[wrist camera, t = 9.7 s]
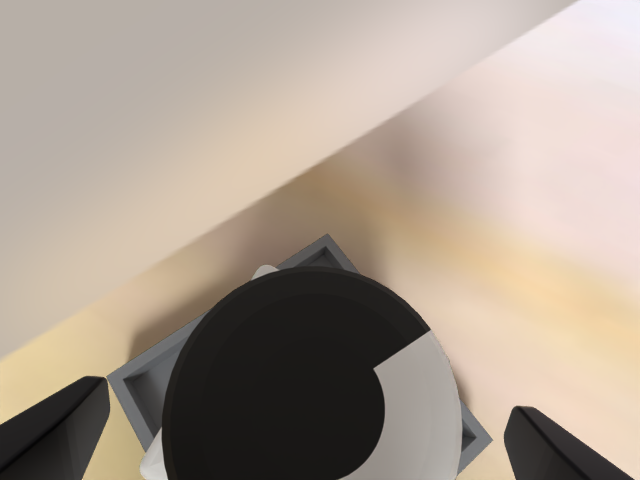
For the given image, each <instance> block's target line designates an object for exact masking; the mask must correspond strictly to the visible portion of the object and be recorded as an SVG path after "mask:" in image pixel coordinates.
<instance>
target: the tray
mask: <svg viewBox="0 0 640 480" xmlns="http://www.w3.org/2000/svg"><path fill="white" fill-rule="evenodd" d="M301 266H324V267H332V268H339V269H343V270H347V271H351V272H354V273H358V274H360V273H359V272H358V271H357V269H356V268H355V267H354V266H353V264H352V263H351V262H350V261H349V259H348V258H347V257H346V256H345V254H344V253H343V252H342V251H341V249H340V248H339V247H338V246H337V244H336V243H335V242H334V241H333V239H332V238H331V237H330V236H329V234H326V235H325V236H323V237H322V238H320V239H318V240H317V241H315V242H314V243H312V244H311V245H309V246H308V247H306V248H304V249H303V250H301V251H300V252H298V253H297V254H295V255H294V256H292V257H291V258H289V259H287V260H286V261H284V262H283V263H281V264H280V265H278V266H277V267H275V268H277V269H279V270H282V269H286V268H294V267H301ZM360 275H361V274H360ZM211 309H212V308H211ZM211 309H210V310H211ZM210 310H208V311H207V312H205V313H204V314H202V315H201V316H199V317H198V318H196V319H194V320H193V321H191V322H190V323H188V324H187V325H185V326H184V327H182V328H180V329H179V330H177V331H176V332H174V333H173V334H171V335H170V336H168V337H167V338H165V339H163V340H162V341H160V342H159V343H157V344H156V345H154V346H153V347H151V348H149V349H148V350H146V351H145V352H143V353H142V354H140V355H139V356H137V357H136V358H134V359H132V360H131V361H129V362H128V363H126V364H125V365H123V366H122V367H120V368H118V369H117V370H115V371H114V372H112V373H111V374H109V375H108V376H106V377H107V379H108V381H109V383H110V385H111V387H112V389H113V391H114V393H115V395H116V396H117V398H118V400H119V402H120V404H121V406H122V408H123V410H124V412H125V414H126V416H127V418H128V420H129V422H130V424H131V425H132V427H133V429H134V431H135V433H136V435H137V437H138V439H139V441H140V443H141V445H142V447H143V449H144V451H145V452H147V450H148V449H149V447H150V445H151V444H152V442H153V440H154V439H155V437H156V435H157V434H158V432H159V430H160V429H161V427H162V412H163V406H164V400H165V393H166V390H167V386H168V383H169V379H170V376H171V372H172V370H173V367H174V365H175V363H176V360H177V358H178V356H179V353H180V351H181V349H182V348H183V346H184V344H185V343H186V341H187V339H188V338H189V336H190V334H191V333H192V331H193V330H194V329H195V327H196V326H197V325H198V324H199V322H200V321H201V320H202V318H203V317H204V316H205V315H206V314H207V313H208V312H209V311H210ZM459 400H460V405H461V416H462V444H461V455H460V460H459V465H458V471H457V475H458V474H459V473H460V472H461V471H462V470H463V469H464V468H465V467H466V466H467V465H468V464H469V463H470V462H471V461H473V460H474V459H475V458H476V457H477V456H478V455H479V454H480V453H481V452H482V451H483V450H484V449H485V448H486V447H487V446H488V445H489V444H490V443H491V442H492V441H493V439H492V438H491V437H490V436H489V434H488V433H487V432H486V431H485V429H484V428H483V427H482V426H481V424H480V423H479V422H478V421H477V419H476V418H475V417H474V416H473V414H472V413H471V412H470V411H469V409H468V408H467V407H466V406H465V404H464V403H463V402H462V401H461V399H460V398H459Z"/></svg>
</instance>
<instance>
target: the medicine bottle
mask: <svg viewBox="0 0 640 480" xmlns="http://www.w3.org/2000/svg"><path fill="white" fill-rule="evenodd" d="M449 362H450V361H449V359H448V356H447V355H446V354H445V353H444V351H443V348H442V346H441V345H440V343H439V341H438V340H437V338H436V337H435V335H434V333H433V332H432V330H431V329H430V327H429V326H428V325H427V324H426V322H425V321H424V320H423V319H422V317H421V316H420V315H419V314H418V313H417V312H416V311H415V310H414V309H413V308H412V307H411V306H410V305H409V304H408V303H407V302H406V301H405V300H403V299H402V298H401V297H399V296H398V295H397V294H395V293H394V292H393V291H392V290H390V289H388V288H387V287H385V286H383V285H381V284H380V283H378V282H376V281H375V280H372V279H370V278H367V277H365V276H363V275H360V274H358V273H354V272H351V271H347V270H343V269H339V268H332V267H324V266H301V267H294V268H286V269H282V270H279V269H277V268H275V267H273V266H271V265H262V266H260V267H259V268H258V269H257V271H256V273H255V274H254V276H253V277H252V279H251V281H249V282H247V283H246V284H244V285H242V286H240V287H239V288H237V289H235V290H234V291H232V292H231V293H230V294H228V295H227V296H226V297H224V298H223V299H222V300H221V301H219V302H218V303H217V304H216V305H215V306H214V307H213V308H212V309H211V310H210V311H209V312H208V313H207V314H206V315H205V316H204V317H203V318H202V320H201V321H200V322H199V324H198V325H197V326H196V327H195V329H194V330H193V331H192V333H191V334H190V336H189V338H188V339H187V341H186V343H185V344H184V346H183V348H182V349H181V351H180V353H179V356H178V358H177V360H176V363H175V365H174V367H173V370H172V372H171V376H170V379H169V383H168V386H167V390H166V393H165V400H164V406H163V412H162V427H161V429H160V430H159V432H158V434H157V435H156V437H155V439H154V440H153V442H152V444H151V445H150V447H149V449H148V450H147V452H146V453H145V455H144V457H143V458H142V461H141V464H140V473H141V475H142V476H143V477H144V478H145V479H147V480H455V479H456V476H457V471H458V465H459V460H460V455H461V444H462V416H461V405H460V400H459V394H458V389H457V385H456V382H455V378H454V375H453V372H452V369H451V366H450V364H449Z"/></svg>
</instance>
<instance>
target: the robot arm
mask: <svg viewBox="0 0 640 480" xmlns="http://www.w3.org/2000/svg"><path fill="white" fill-rule="evenodd" d="M109 413H110V400H109V391H108V383H107V380H106V378H104V377H99V376H85V377H83V378H81V379H79V380H77V381H75V382H74V383H72V384H70V385H68V386H67V387H65V388H63V389H61V390H60V391H58V392H56V393H55V394H53V395H51V396H49V397H48V398H46V399H44V400H42V401H41V402H39V403H37V404H35V405H34V406H32V407H30V408H28V409H27V410H25V411H23V412H22V413H20V414H18V415H16V416H15V417H13V418H11V419H9V420H8V421H6V422H4V423H2V424H1V425H0V480H82V478H83V475H84V473H85V471H86V468H87V466H88V464H89V461H90V459H91V457H92V455H93V452H94V450H95V448H96V445H97V443H98V441H99V438H100V436H101V434H102V431H103V429H104V427H105V424H106V422H107V420H108V417H109ZM504 443H505V447H506V450H507V453H508V456H509V460H510V463H511V466H512V469H513V472H514V475H515V478H516V480H634V479H633V478H632V477H630V476H629V475H628V474H626V473H625V472H623V471H622V470H621V469H619V468H618V467H616V466H615V465H614V464H612V463H611V462H609V461H608V460H607V459H605V458H604V457H603V456H601V455H600V454H598V453H597V452H596V451H594V450H593V449H591V448H590V447H589V446H587V445H586V444H585V443H583V442H582V441H580V440H579V439H578V438H576V437H575V436H573V435H572V434H571V433H569V432H568V431H566V430H565V429H564V428H562V427H561V426H560V425H558V424H557V423H555V422H554V421H553V420H551V419H550V418H548V417H547V416H546V415H544V414H543V413H541V412H540V411H539V410H537V409H536V408H534V407H529V406H515V407H514V408H513V409H512V411H511V414H510V417H509V420H508V423H507V426H506V429H505V432H504Z"/></svg>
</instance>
